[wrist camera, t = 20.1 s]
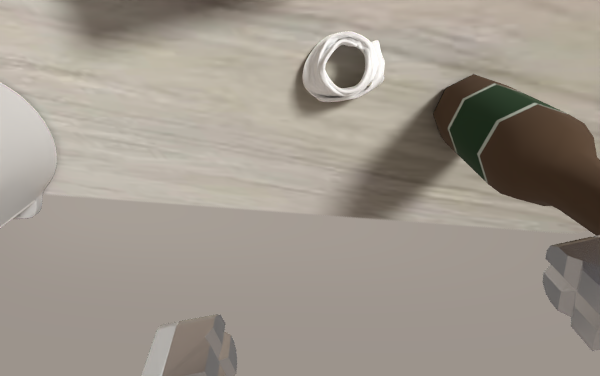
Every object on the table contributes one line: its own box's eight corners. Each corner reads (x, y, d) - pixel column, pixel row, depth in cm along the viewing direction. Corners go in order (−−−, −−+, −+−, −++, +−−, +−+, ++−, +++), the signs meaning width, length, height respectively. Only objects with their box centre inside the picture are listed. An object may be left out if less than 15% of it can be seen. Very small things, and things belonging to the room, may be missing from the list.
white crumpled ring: (310, 104, 40) (312, 125, 36) (293, 41, 36) (292, 56, 32) (385, 84, 39) (395, 103, 35) (375, 17, 35) (385, 29, 31)
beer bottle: (474, 55, 37) (728, 155, 16) (517, 104, 40) (783, 242, 19) (415, 114, 40) (569, 265, 19) (460, 156, 42) (637, 327, 22)
